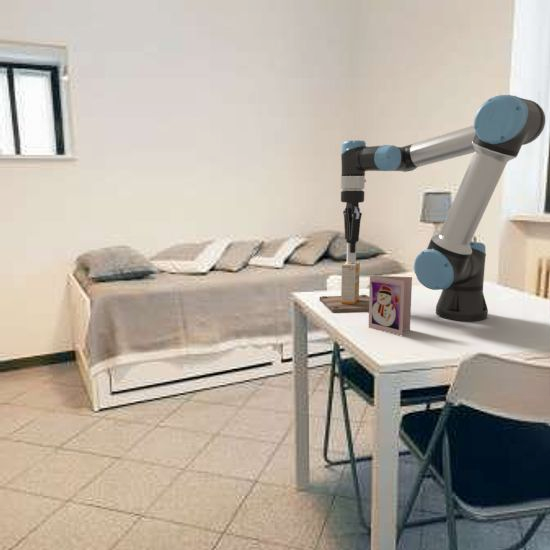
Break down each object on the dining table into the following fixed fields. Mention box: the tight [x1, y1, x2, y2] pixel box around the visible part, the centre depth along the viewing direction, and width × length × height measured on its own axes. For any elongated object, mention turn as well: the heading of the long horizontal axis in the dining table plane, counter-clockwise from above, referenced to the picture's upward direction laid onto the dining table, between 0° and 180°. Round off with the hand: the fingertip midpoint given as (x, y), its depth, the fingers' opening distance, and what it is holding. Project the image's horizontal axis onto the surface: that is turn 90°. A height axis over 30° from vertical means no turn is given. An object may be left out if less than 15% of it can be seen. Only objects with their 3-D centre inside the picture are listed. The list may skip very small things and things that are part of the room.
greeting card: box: [368, 275, 413, 336], centre depth 147 cm, size 11×7×15 cm, turn 42°
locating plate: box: [319, 294, 369, 313], centre depth 177 cm, size 18×17×2 cm
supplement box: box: [340, 261, 361, 304], centre depth 176 cm, size 8×5×13 cm, turn 161°
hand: (351, 262), depth 175 cm, fingers closed
